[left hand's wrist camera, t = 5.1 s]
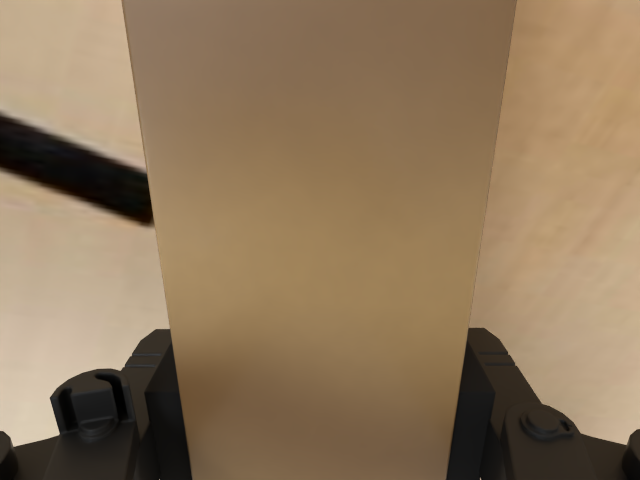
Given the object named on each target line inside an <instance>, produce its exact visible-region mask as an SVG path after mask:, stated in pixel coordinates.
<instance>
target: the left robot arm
mask: <svg viewBox="0 0 640 480" xmlns="http://www.w3.org/2000/svg"><path fill="white" fill-rule="evenodd" d="M50 400H51V404H52V407H53V411H54V414H55V418H56V421H57V425H58V429H59V432H60V435H59V436H55V437H52V438H49V439H45V440H41V441H37V442H33V443H28V444H24V445H20V446H16V447H13V444H12V441H11V438H10V437H9V436H8V435H7V434H6V433H5V432H3V431H0V480H159V479H160V480H192V473H191V466H190V459H189V453H188V446H187V439H186V432H185V426H184V419H183V412H182V405H181V399H180V392H179V385H178V378H177V372H176V365H175V358H174V351H173V345H172V338H171V331H170V329H156V330H154V331H153V332H152V333H150V334H149V335H148V336H146V337H145V338H144V339H142V340H141V341H140V343H139V344H138V346H137V347H136V349H135V350H134V352H133V353H132V356H130V358H129V359H128V361H127V362H126V364H125V367H123V368H122V370H121V371H118V370H115V369H96V370H92V371H88V372H84V373H81V374H79V375H77V376H75V377H73V378H71V379H69V380H67V381H66V382H65V383H63V384H62V385H61V386H59V387H58V388H57V389H56V390H55V392H54V393H53V394H52V396H51V397H50ZM480 477H481V480H640V429H638V430H636V431H635V432H634V433H632V434H631V435H630V437H629V440H628V443H627V445H624V444H619V443H615V442H611V441H607V440H602V439H598V438H594V437H590V436H587V435H584V434H581V433H580V432H579V430H578V429H577V427H576V426H575V424H574V422H572V421H571V420H570V419H569V418H568V417H567V416H565V415H564V414H563V413H561V412H559V411H557V410H556V409H554V408H552V407H550V406H547V405H543V404H542V403H541V402H540V400H539V399H538V397H537V396H536V394H535V393H534V391H533V390H532V388H531V387H530V385H529V384H528V382H527V381H526V379H525V378H524V376H523V374H522V373H521V371H520V370H519V368H518V367H517V366H515V362H514V361H513V359H512V358H511V356H510V355H508V352H507V350H506V349H505V347H504V346H503V344H502V343H501V341H500V340H499V339H498V338H497V337H496V336H494V335H493V334H492V333H490V332H489V331H488V330H486V329H485V328H468V334H467V341H466V348H465V355H464V361H463V368H462V375H461V382H460V389H459V395H458V402H457V409H456V416H455V423H454V429H453V436H452V443H451V450H450V457H449V463H448V470H447V477H446V480H480Z"/></svg>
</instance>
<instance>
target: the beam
mask: <svg viewBox="0 0 640 480" xmlns="http://www.w3.org/2000/svg"><path fill="white" fill-rule="evenodd" d="M516 1H517V0H122V7H123V13H124V20H125V27H126V34H127V40H128V47H129V54H130V61H131V67H132V74H133V81H134V88H135V94H136V101H137V108H138V115H139V121H140V128H141V135H142V142H143V149H144V155H145V162H146V169H147V176H148V182H149V189H150V196H151V203H152V209H153V216H154V223H155V230H156V236H157V243H158V250H159V257H160V263H161V270H162V277H163V284H164V290H165V297H166V304H167V311H168V318H169V324H170V331H171V338H172V345H173V351H174V358H175V365H176V372H177V378H178V385H179V392H180V399H181V405H182V412H183V419H184V426H185V432H186V439H187V446H188V453H189V459H190V466H191V473H192V480H446V477H447V470H448V463H449V457H450V450H451V443H452V436H453V429H454V423H455V416H456V409H457V402H458V395H459V389H460V382H461V375H462V368H463V361H464V355H465V348H466V341H467V334H468V327H469V321H470V314H471V307H472V300H473V294H474V287H475V280H476V273H477V266H478V260H479V253H480V246H481V239H482V232H483V226H484V219H485V212H486V205H487V198H488V192H489V185H490V178H491V171H492V164H493V158H494V151H495V144H496V137H497V130H498V124H499V117H500V110H501V103H502V96H503V90H504V83H505V76H506V69H507V63H508V56H509V49H510V42H511V35H512V29H513V22H514V15H515V8H516Z"/></svg>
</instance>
